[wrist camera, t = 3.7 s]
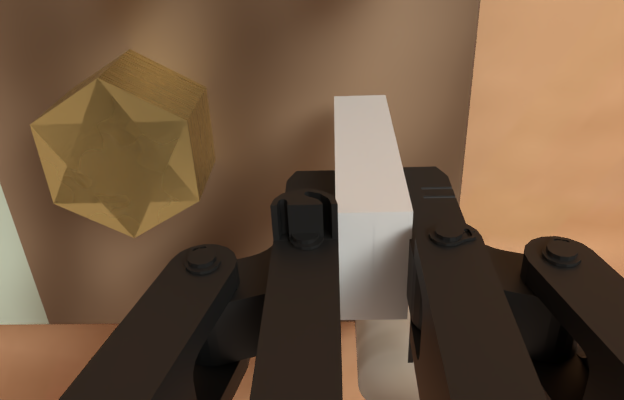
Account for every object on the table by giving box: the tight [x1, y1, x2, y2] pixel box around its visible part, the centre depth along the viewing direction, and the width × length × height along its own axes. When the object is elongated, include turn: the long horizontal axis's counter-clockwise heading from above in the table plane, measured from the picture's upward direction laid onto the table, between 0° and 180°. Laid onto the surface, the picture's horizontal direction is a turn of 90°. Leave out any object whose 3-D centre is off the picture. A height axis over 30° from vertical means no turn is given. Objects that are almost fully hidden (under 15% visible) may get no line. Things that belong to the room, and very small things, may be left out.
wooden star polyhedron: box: [30, 49, 216, 238], centre depth 18 cm, size 4×5×3 cm
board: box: [0, 0, 480, 400], centre depth 17 cm, size 23×17×6 cm
